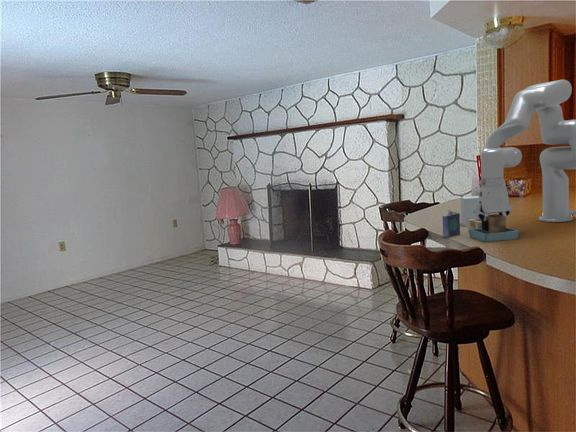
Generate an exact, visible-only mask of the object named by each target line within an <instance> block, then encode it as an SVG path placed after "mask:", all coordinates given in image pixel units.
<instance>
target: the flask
mask: <svg viewBox="0 0 576 432" xmlns="http://www.w3.org/2000/svg"><path fill="white" fill-rule="evenodd" d="M447 212H448V214H447V213H446V214H443V215H442V217H441V218H442V237H443V238H450V237H451V238H452V237H455V236H459V235H461V230H460V228H461V223H460V222H461V221H460V220H461V219H460V216H461V214H460V213H461V212H457V211H453V210H452V209H448V210H447Z"/></svg>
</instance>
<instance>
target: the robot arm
mask: <svg viewBox="0 0 576 432" xmlns="http://www.w3.org/2000/svg"><path fill="white" fill-rule="evenodd" d="M572 90H573V88H572V84H571V82H570V81H568V80H566V79H558V80H553V81H548V82H542V83H537V84H533V85H529V86H526V88H525V89H522V90H520V91H518V92H517V93H516V94H515V96H514V97H513V100H512V102H511V105H510V107H509V110H508V113H507V115H506V117H505V121H503V122H504V123H502V124H501V125H500V126H499V127H497V128H496V129H495V130H494V131H493V132H492V133H491V134H490V135H489V137H488V138H487V139H486V141H485V143H484V146H483V149H482V150H481V153H480V170H481V172H480V173H481V178H480V180H478V185H480V188H479V192H478V197H479V200H478V206H477V207H476V209H475V210H474V211H473V213H474V214H476V215H477V216H478V217H479V218H480V220H482V229H483V230H485V231H488V230H489V228H488V221H487V218H488V215H491V214H499V215H504V216H506V219H508V216H509V215H510V213H511V212H512V211H513V210H514V207H513V206H512V205H511V204H510V199H509V192H508V188H507V186H506V184H504V183H505V180H504V179H505V178H504V168H513V167H514V168H515V167H516V166H518V165H519V164H520V163H521V162H522V159H523V153H522V151H521V150H520V149H519V148H517V147H512V146H511V147H510V146H508V147H507V146H506V147H501V146H502V144H504V143H505V142H506V141H509V140H510V139H512V138H515V137H517V136H518V135H520V134H522V133H524V132H526V131H527V130H528V128H529V126H530V123H531V120H532V118H533V115H534V112H536V113H537V116H538V123H539V129H540V130H539V131H540V137H541V141H542V143H543V144H544V145H550V146H551V145H553V146H552V147H548V148H545V149H543V150H542V151H541V152H540V155H539V164H540V168H541V175H542V215H540V216H538V221H541V222H546V223H548V222H549V223H564V222H565V223H566V222H567V223H568V222H571V221H573V220H574V217H573V216H572V215H576V209H572V208H570V207H569V203H570V202H569V201H570V199H569V197H570V196H569V193H570V192H569V191H570V189H569V187H570V186H569V184H570V182H569V181H570V180H569V176H568V174H566V172H565V171H564V170H576V119H568V120H565V119H564V114H563V109H562V106H561V105H560V104H562V103H564V102H567V100H568V99H569V98H570V97H571V95H572ZM566 144H567V145H569V146H563V145H566ZM554 145H562V146H554ZM479 211H480V212H482V214H480V212H479Z"/></svg>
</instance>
